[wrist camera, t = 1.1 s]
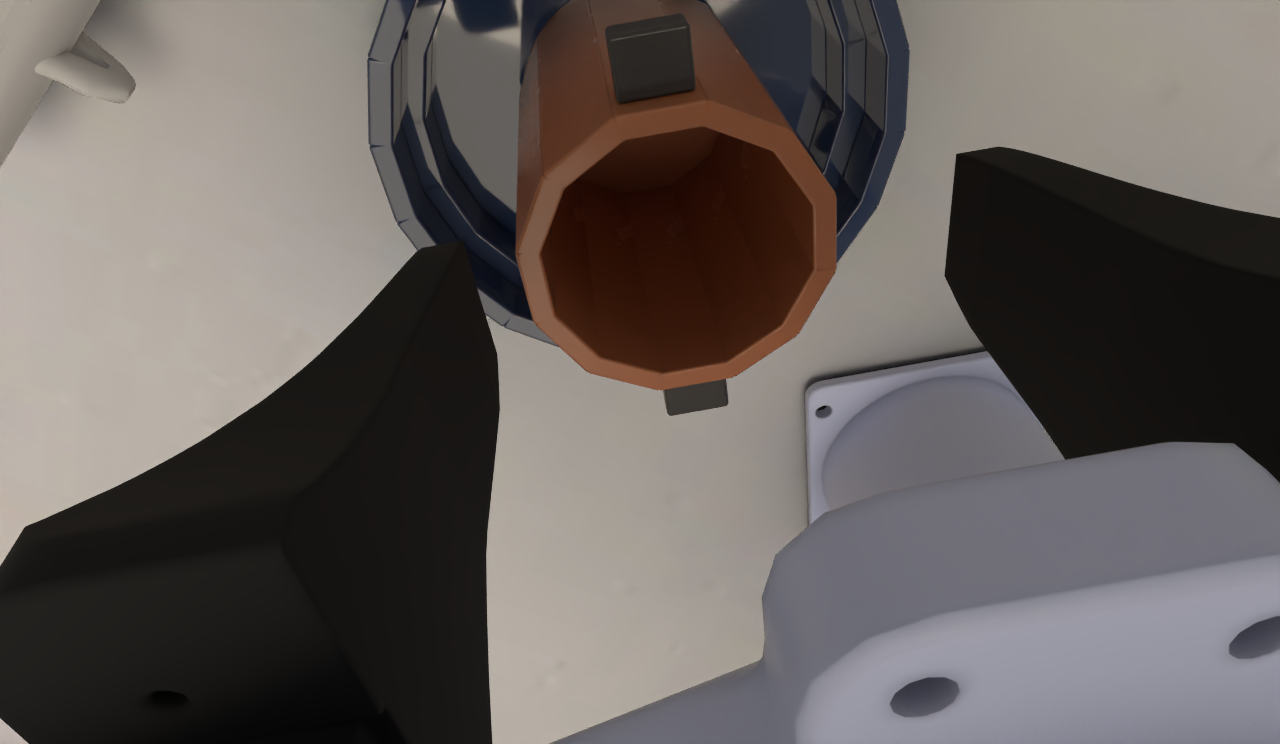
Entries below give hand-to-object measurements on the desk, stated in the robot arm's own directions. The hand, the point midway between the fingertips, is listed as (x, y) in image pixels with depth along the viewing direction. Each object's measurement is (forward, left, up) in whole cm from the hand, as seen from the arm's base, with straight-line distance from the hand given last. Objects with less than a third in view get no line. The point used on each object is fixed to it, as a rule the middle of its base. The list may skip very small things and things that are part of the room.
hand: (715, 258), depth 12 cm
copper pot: (-1, 0, -9) cm, 9 cm away
